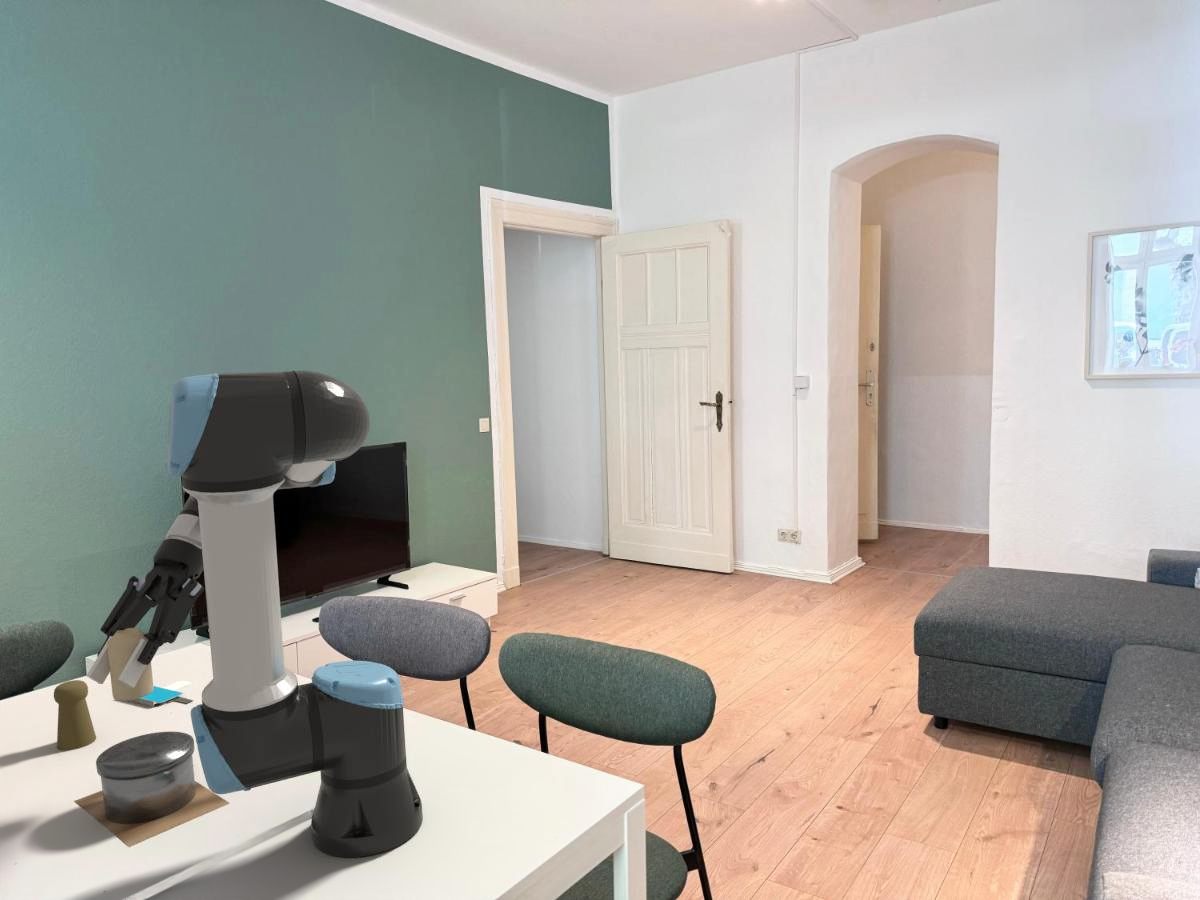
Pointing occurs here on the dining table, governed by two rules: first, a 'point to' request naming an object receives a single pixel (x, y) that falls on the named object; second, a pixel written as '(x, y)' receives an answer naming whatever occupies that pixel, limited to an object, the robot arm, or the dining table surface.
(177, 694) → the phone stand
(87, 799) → the wooden board
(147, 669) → the candle
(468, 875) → the dining table surface
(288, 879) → the dining table surface
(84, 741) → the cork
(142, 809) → the round metal tin
